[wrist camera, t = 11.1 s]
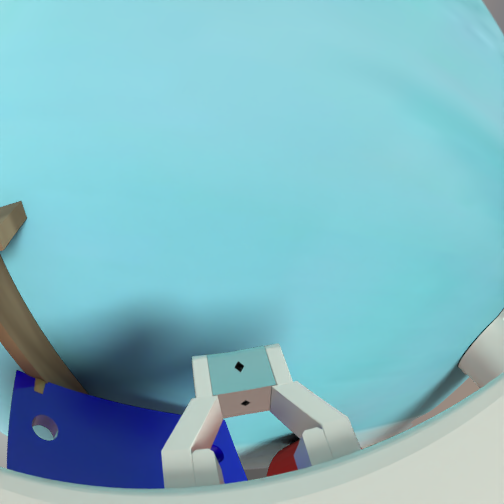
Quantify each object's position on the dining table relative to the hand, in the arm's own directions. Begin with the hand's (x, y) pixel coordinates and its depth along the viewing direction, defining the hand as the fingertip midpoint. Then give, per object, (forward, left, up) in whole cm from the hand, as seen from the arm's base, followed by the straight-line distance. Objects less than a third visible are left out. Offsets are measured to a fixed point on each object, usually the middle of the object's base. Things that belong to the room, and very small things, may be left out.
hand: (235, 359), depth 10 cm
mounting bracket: (+7, +11, -1) cm, 13 cm away
